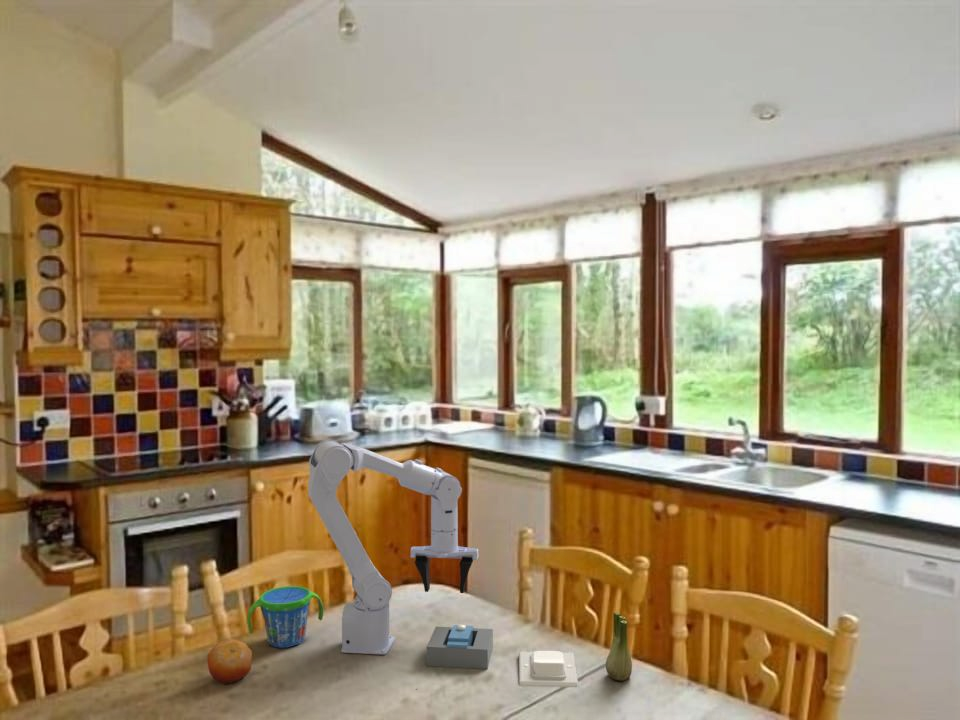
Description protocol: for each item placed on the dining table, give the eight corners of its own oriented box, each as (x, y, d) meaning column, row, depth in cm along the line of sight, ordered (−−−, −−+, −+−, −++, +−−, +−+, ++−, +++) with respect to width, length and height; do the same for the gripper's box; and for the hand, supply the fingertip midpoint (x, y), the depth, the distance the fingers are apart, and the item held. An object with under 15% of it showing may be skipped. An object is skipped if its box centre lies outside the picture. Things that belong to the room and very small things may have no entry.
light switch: (519, 671, 136) (519, 638, 149) (519, 692, 136) (519, 658, 149) (578, 672, 136) (573, 639, 148) (578, 694, 136) (573, 659, 149)
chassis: (426, 665, 145) (426, 646, 144) (435, 644, 155) (435, 626, 154) (487, 668, 143) (487, 649, 143) (492, 647, 153) (492, 629, 153)
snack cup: (248, 657, 148) (248, 607, 148) (246, 637, 158) (245, 590, 158) (327, 646, 154) (326, 597, 154) (320, 627, 164) (319, 581, 163)
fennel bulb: (629, 686, 136) (629, 622, 136) (602, 681, 138) (603, 618, 137) (634, 672, 142) (634, 610, 141) (608, 668, 143) (608, 607, 143)
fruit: (235, 655, 146) (244, 627, 143) (251, 687, 142) (261, 658, 139) (195, 668, 141) (203, 639, 138) (211, 701, 136) (220, 672, 133)
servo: (447, 666, 144) (446, 638, 144) (454, 646, 154) (454, 619, 154) (467, 667, 144) (467, 639, 144) (473, 647, 153) (473, 620, 153)
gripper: (407, 532, 156) (407, 596, 156) (475, 534, 154) (475, 598, 155) (414, 524, 163) (414, 584, 163) (479, 525, 161) (479, 587, 162)
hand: (444, 591), depth 160 cm, fingers open, 7 cm apart
